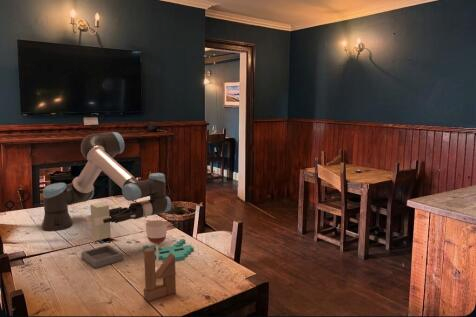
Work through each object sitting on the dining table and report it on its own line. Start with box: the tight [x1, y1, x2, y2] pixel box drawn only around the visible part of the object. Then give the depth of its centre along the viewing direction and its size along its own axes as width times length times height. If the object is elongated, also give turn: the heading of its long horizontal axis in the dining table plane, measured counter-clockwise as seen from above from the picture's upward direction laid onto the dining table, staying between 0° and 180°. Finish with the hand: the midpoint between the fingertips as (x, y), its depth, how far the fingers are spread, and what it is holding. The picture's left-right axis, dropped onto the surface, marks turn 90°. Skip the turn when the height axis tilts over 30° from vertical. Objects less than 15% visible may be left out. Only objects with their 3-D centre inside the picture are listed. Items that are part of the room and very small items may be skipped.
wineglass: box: [145, 219, 168, 273], centre depth 155 cm, size 8×9×20 cm
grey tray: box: [80, 244, 124, 270], centre depth 168 cm, size 14×12×3 cm
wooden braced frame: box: [143, 248, 177, 302], centre depth 136 cm, size 4×11×18 cm, turn 126°
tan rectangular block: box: [90, 202, 112, 241], centre depth 166 cm, size 7×5×14 cm
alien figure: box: [142, 238, 195, 262], centre depth 175 cm, size 20×2×20 cm
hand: (91, 220), depth 163 cm, fingers closed on tan rectangular block, 7 cm apart
